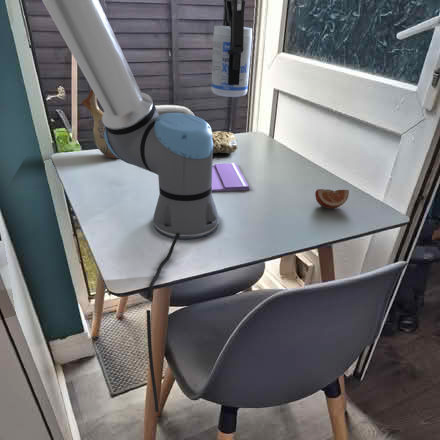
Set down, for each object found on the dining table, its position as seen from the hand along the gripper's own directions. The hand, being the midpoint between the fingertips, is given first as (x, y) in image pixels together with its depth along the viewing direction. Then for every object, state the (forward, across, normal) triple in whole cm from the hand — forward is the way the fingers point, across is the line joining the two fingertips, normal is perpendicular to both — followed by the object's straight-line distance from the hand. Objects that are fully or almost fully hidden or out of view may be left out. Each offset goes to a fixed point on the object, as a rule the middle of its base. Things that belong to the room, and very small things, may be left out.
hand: (229, 80), depth 101 cm
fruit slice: (+25, -24, -24) cm, 42 cm away
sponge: (+25, +19, +3) cm, 32 cm away
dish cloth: (+25, -2, +2) cm, 25 cm away
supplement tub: (+3, 0, 0) cm, 3 cm away
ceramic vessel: (+26, +18, +33) cm, 46 cm away
